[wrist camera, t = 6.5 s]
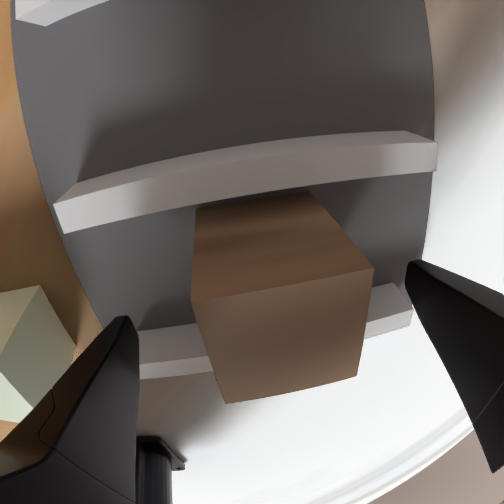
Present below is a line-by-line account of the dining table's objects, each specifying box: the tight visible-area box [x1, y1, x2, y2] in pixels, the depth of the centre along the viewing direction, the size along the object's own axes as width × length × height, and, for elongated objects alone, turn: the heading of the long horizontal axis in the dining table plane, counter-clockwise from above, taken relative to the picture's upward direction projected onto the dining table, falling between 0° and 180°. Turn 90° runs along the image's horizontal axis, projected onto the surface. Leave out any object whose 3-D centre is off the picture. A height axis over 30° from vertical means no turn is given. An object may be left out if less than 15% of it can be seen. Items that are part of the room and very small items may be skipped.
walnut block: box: [191, 191, 374, 404], centre depth 10 cm, size 4×4×5 cm
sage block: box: [0, 285, 76, 423], centre depth 10 cm, size 4×4×5 cm
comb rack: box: [10, 0, 438, 380], centre depth 9 cm, size 17×15×2 cm
